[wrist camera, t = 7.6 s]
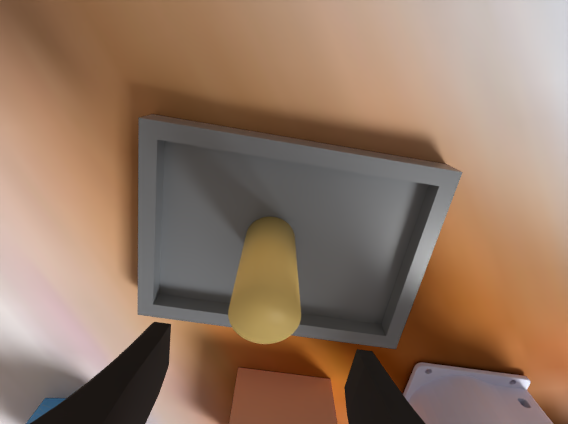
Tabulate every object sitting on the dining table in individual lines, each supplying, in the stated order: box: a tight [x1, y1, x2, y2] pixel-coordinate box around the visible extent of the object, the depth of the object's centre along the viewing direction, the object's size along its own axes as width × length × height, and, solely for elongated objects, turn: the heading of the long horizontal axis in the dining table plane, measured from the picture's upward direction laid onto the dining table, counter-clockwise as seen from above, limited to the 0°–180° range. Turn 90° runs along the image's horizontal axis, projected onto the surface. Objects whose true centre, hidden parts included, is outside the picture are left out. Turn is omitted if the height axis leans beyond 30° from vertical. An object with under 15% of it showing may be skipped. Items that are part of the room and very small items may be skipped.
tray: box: [138, 114, 462, 349], centre depth 21 cm, size 18×13×2 cm
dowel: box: [228, 217, 301, 344], centre depth 18 cm, size 3×3×8 cm
